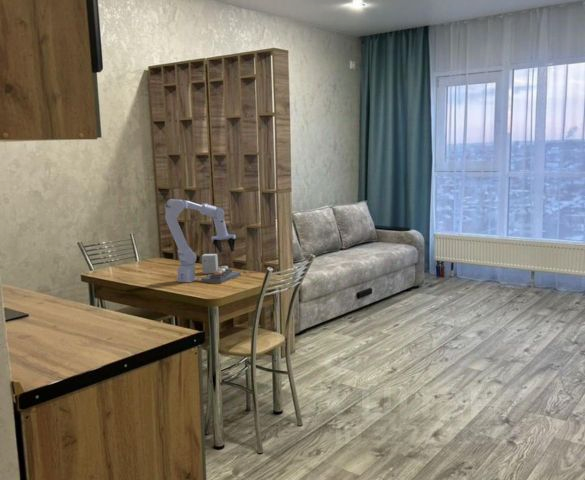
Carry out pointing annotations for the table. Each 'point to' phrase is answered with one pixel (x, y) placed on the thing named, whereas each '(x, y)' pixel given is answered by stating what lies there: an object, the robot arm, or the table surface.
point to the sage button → (224, 267)
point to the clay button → (217, 273)
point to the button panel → (221, 277)
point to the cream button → (221, 270)
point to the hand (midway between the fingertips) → (226, 251)
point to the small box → (209, 263)
